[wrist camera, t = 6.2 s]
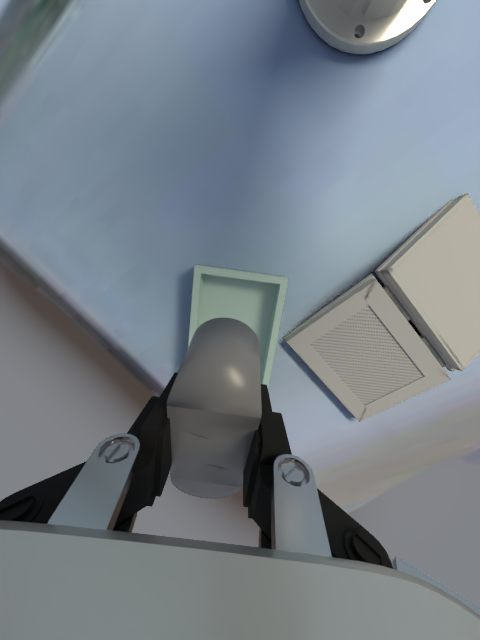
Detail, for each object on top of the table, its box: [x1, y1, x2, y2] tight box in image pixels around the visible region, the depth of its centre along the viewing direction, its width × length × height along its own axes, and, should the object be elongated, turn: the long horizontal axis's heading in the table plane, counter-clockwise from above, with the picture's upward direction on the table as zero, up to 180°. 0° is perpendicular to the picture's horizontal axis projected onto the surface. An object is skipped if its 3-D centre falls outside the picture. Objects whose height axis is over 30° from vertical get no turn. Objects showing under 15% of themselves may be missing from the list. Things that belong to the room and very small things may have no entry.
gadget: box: [284, 194, 480, 422], centre depth 25 cm, size 23×15×4 cm, turn 133°
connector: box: [167, 317, 262, 499], centre depth 11 cm, size 10×3×4 cm, turn 172°
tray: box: [188, 265, 289, 388], centre depth 25 cm, size 14×9×3 cm, turn 172°
